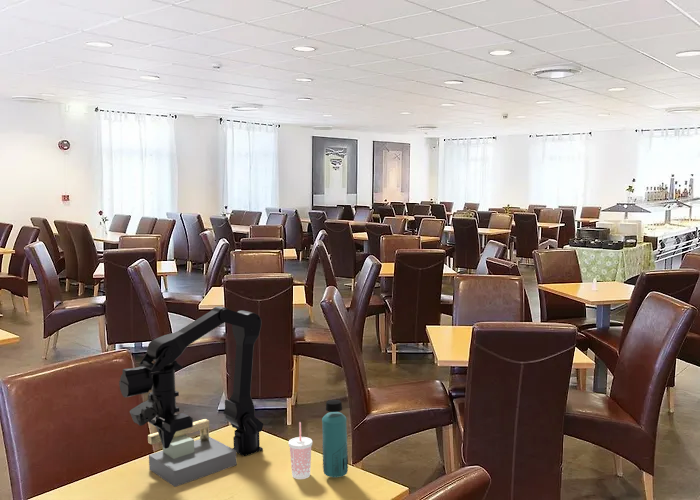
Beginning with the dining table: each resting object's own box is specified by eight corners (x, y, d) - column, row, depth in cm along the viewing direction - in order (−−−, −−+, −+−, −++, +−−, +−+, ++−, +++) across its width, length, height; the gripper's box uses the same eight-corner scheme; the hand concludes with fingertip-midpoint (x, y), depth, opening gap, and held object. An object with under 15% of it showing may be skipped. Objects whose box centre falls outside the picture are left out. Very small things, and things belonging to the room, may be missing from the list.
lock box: (209, 450, 180) (208, 436, 179) (236, 465, 169) (236, 450, 169) (149, 469, 167) (148, 454, 167) (174, 486, 157) (174, 471, 157)
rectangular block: (183, 445, 173) (182, 433, 172) (194, 452, 168) (193, 439, 168) (162, 452, 169) (162, 439, 168) (173, 458, 164) (173, 445, 164)
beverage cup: (318, 474, 163) (317, 421, 162) (300, 482, 159) (299, 428, 157) (301, 467, 167) (300, 416, 166) (284, 475, 163) (283, 422, 161)
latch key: (206, 437, 178) (205, 418, 177) (210, 439, 176) (210, 420, 176) (148, 455, 166) (147, 434, 166) (152, 457, 164) (151, 437, 164)
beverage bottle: (345, 484, 157) (344, 406, 155) (319, 482, 159) (318, 404, 157) (350, 473, 164) (349, 397, 162) (325, 471, 165) (324, 396, 163)
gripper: (117, 387, 163) (120, 446, 164) (150, 404, 149) (153, 468, 150) (158, 378, 170) (160, 434, 172) (192, 394, 157) (195, 454, 158)
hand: (166, 447), depth 163 cm, fingers closed
